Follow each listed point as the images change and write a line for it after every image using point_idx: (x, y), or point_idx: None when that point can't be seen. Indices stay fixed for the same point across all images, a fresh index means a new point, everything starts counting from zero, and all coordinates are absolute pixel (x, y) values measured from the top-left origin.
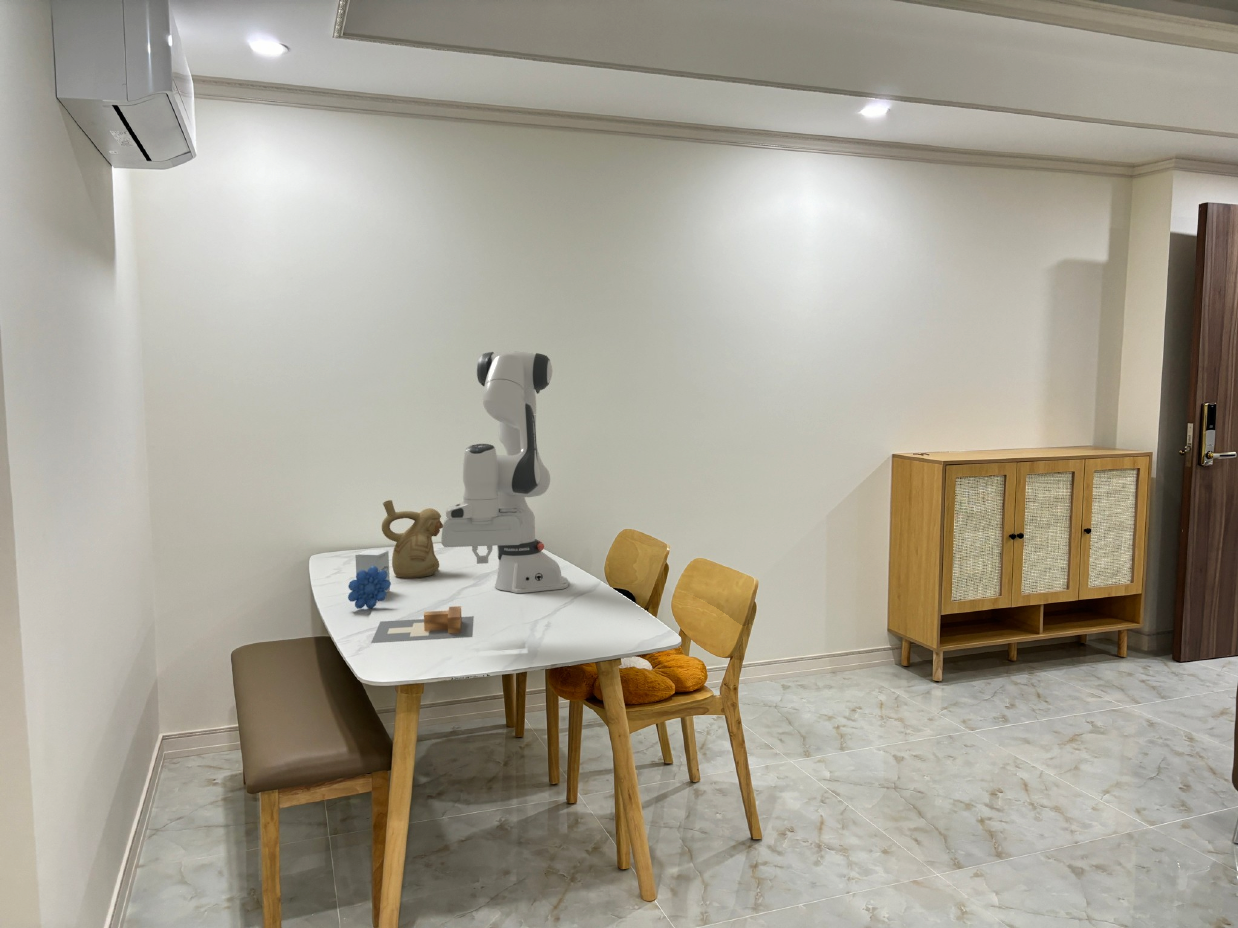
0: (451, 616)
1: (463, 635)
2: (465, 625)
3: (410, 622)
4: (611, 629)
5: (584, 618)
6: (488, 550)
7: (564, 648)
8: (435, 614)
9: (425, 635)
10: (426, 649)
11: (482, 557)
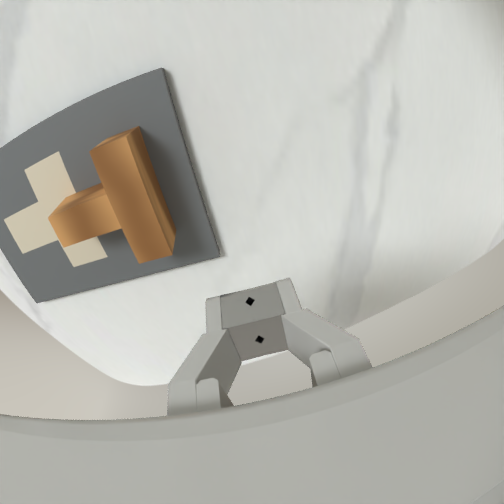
0: (145, 252)
1: (193, 250)
2: (166, 166)
3: (16, 166)
4: (487, 169)
5: (461, 82)
6: (318, 350)
7: (405, 272)
8: (89, 238)
9: (101, 257)
10: (141, 305)
11: (263, 351)
